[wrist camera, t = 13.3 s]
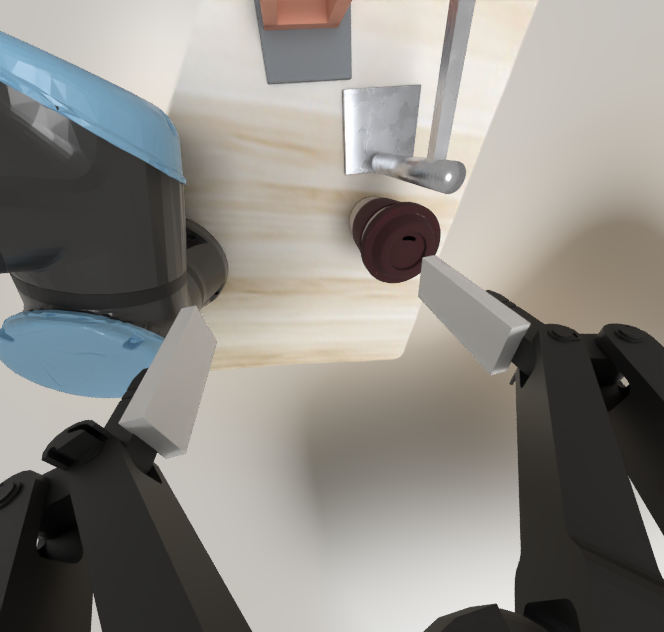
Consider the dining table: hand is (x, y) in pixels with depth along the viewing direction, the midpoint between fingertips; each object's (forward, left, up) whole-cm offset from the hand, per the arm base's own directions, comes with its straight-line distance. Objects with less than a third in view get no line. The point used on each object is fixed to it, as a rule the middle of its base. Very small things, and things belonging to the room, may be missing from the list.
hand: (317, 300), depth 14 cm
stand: (+13, +10, -28) cm, 33 cm away
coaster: (+4, +18, -28) cm, 34 cm away
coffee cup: (+12, -4, -28) cm, 31 cm away
